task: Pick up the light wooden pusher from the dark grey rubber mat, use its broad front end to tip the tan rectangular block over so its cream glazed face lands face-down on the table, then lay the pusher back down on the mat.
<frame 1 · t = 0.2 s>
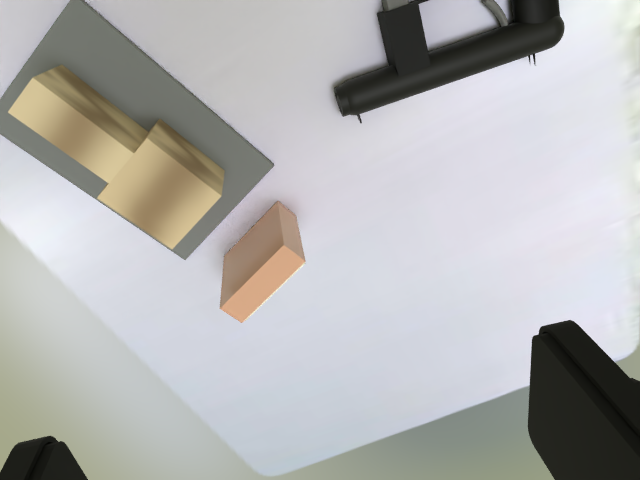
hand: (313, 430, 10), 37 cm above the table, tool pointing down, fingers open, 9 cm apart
tan rectangular block: (259, 235, 49), on the table
rest mat: (138, 143, 43), on the table
pusher: (137, 145, 42), point 1 cm above the table, touching rest mat
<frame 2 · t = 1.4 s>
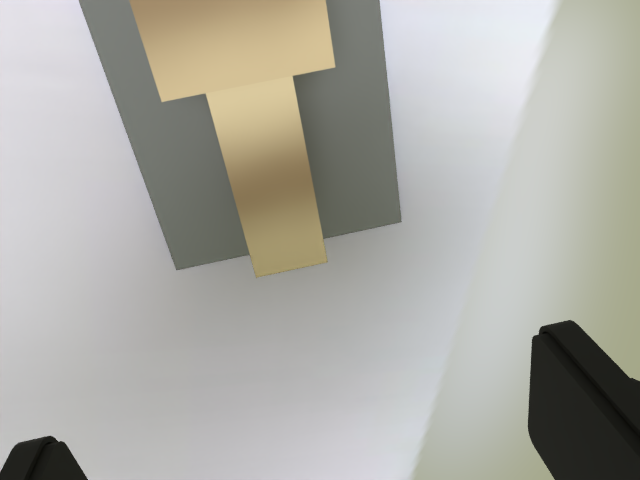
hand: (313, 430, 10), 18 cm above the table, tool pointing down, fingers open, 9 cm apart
rest mat: (248, 61, 24), on the table
pusher: (248, 62, 23), point 1 cm above the table, touching rest mat
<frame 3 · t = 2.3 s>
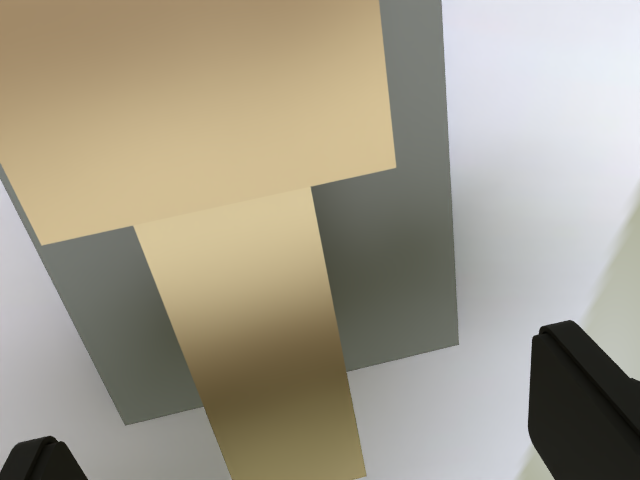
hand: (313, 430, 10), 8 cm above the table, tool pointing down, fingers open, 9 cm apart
rest mat: (228, 122, 15), on the table
pusher: (228, 127, 14), point 1 cm above the table, touching rest mat
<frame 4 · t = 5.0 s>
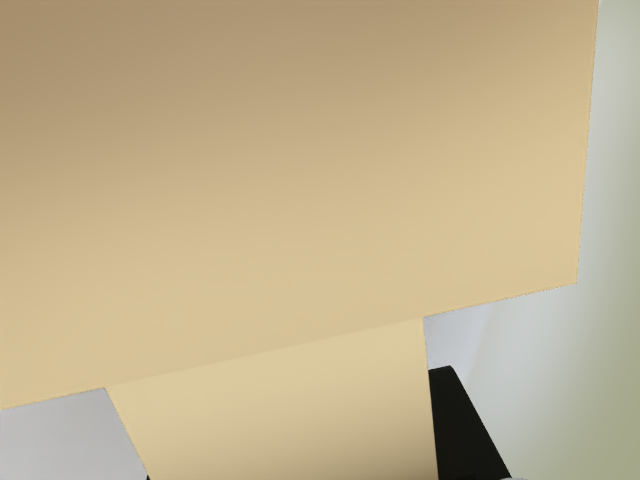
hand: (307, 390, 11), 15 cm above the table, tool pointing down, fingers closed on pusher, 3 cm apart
pusher: (258, 168, 10), point 13 cm above the table, touching gripper
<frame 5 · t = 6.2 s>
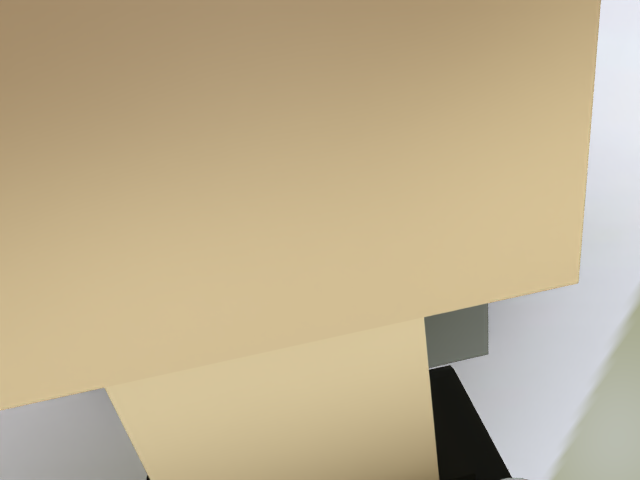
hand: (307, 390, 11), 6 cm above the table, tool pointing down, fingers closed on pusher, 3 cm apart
rest mat: (247, 114, 13), on the table
pusher: (258, 168, 10), point 4 cm above the table, touching gripper
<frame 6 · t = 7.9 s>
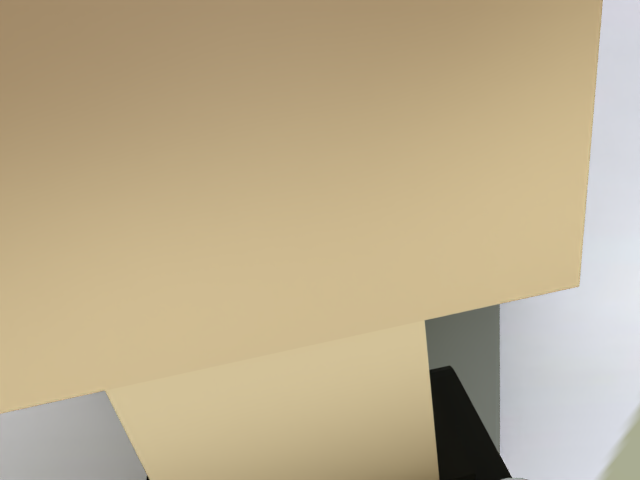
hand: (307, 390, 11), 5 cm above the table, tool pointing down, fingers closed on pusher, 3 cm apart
rest mat: (300, 312, 16), on the table
pusher: (259, 168, 10), point 3 cm above the table, touching gripper
when the fingers open (3 cm above the table, at t = 11.4 s): pusher stays where it is, resting on rest mat.
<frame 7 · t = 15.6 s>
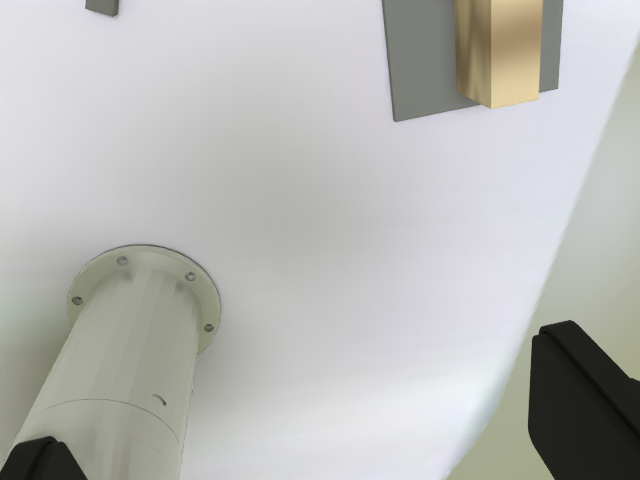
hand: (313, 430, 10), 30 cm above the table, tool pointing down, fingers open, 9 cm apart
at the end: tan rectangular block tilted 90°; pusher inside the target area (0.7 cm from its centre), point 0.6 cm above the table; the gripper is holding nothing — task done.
